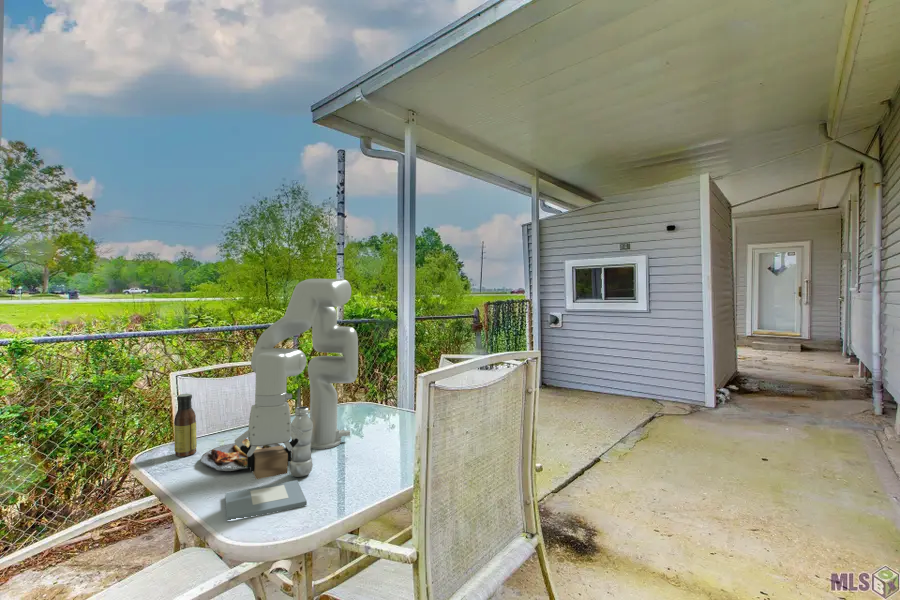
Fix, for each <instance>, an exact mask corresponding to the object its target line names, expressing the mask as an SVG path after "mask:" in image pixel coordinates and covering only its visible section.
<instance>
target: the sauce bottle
mask: <svg viewBox="0 0 900 600" xmlns="http://www.w3.org/2000/svg"><path fill="white" fill-rule="evenodd" d="M192 399H193V395H192V393H182V394H178V395H177V401H178V402H177V405H178V406H177V411H176V414H175V416H174V421H173V425H174V426H173V430H174V432H173V433H174V452H175V456H176V457H182V458H184V457H188V456H192V455H194V454H195V453H196V452H197V441H198V440H197V421H196V420H197V418H196V412H195V411H194V408H193V405H192Z"/></svg>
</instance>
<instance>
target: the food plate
mask: <svg viewBox="0 0 900 600" xmlns="http://www.w3.org/2000/svg"><path fill="white" fill-rule="evenodd" d="M242 443H243V444H244V445H245V446H247V447H249V445H250V442H249V440H248V438H246V439H245V440H244V441H243V442H242ZM275 446H283V448H284V449H285V448H286V446H285V445H283V444H281V443H279V444H272V445H264V446H257V448H256V449H262V448H269V447H275ZM256 449H255V450H256ZM199 461H200V462H201V463H203V464H204V465H206V466H207V467H210V468H211V469H214V470H216V471H222V472H223V471H225V472H231V471H232V472H233V471H239V470H243V469H248V468H247V455H246V454H245V453H244V452H242V451H241V450H240V448H239V447H238V446H237V445H236V444H235V442H234V443H229V444H223V445H221V446H217V447H215V448H212V449H210V450H208V451H206V452H204V453H202V455H201V457H200V460H199Z"/></svg>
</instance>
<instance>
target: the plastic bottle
mask: <svg viewBox="0 0 900 600" xmlns="http://www.w3.org/2000/svg"><path fill="white" fill-rule="evenodd" d="M309 415H310V411H309V406H304V405H303V406H297V407H295V412H294V416H295V417H294V418H293V420H292V421H291V425H292V426H294V427H295V428H297V429H299V430H301V431H302V432H303V436H302V437H301V438H300V440H299V441H298V443H297V444H296V445H295V446H294V447H293V449H292V450H291V461H290V462H289V466H288V467H289V468H288V469H289V473H290V475H291V476H292V477H295V478H300V477H301V478H302V477H307V476H308V475H310V474H311V472H312V470H313V465H314V464H313V459H312V450H311V449H312V448H311V435H312V428H313V423H312V421H311V419H310V416H309ZM295 436H296V434H295V433H293V432H291V439H290V440H292V439H293V438H295Z"/></svg>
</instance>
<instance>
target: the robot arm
mask: <svg viewBox="0 0 900 600" xmlns="http://www.w3.org/2000/svg"><path fill="white" fill-rule="evenodd" d="M351 297H352V286H351V283H350V282H349V280H346V279H341V278H308V279H305V280H302V281H299V282H298V283H297V284H296V285H295V287H294V289H293V292H292V295H291V297H290V300H289V302H288V305H287V308H286V311H285V313H284V315H283V317H281V318H280V319H278V320H276V321H275V322H274V323H273V324H271V325H270V326H269V327H268V328H266V329H265V330H264V331H263V332H262V333H261V335H260V336H259V338H258V339H257V342H256V345H255V347H254V349H253V352H252V355H251V359H250V360H251V361H250V366H251V369H252V372H254V374H255V386H254V387H255V390H254V404H253V405H251V408H250V413H249V418H248V429H247V430H246V431H244V433H242V434H240V436H238V437H236V438H235V439H234V443H235V444H236V445H237V446H238V447H239V448H240V450H241V451H242V452H244V453H245V454H246V455H247V468H246V469H249V470H250V473H253V471H254V454H253V452H254V451H255V449H256V448H257V446H264V445H272V444H283V446H284V447H285V451H286V452H287V454H288V467H290V461H291V454H292V449H293V447H294V446H295V445H296V444H297V443H298V441H299V440H300V438H301V437H302V436H303V432H302V431H301V430H299V429H297V428H295V427H294V426H292V425H291V423H292V421H291V419H292V418H291V410H290V404H289V402H288V401H289V400H291V399H293V394H292V393H288V392H287V378H288V377H295V376H298V375H300V374H302V373H303V371H304V370H305V368H306V366H307V374H308V380H309V389H310V390H309V392H310V393H309V394H310V395H309V396H310V399H309V401H310V402H309V418H310V419H311V421H312V423H313V428H312V435H311V449H313V450H323V449H325V448H326V449H330V448H335V447H337V446H339V445H340V444H341V443H342V437H350V436H351V431H350V429H349V430H345V429H340V430H339V429H338V402H339V401H338V391H337V390H336V388H335V386H334V384H352V383H355V382H356V380H357V378H358V374H359V373H358V371H359V338H358V337H359V336H358V332H357V331H356V329H355V328H353V327H352V326H339V325H338V315H337V314H338V313H337V309H336V308H338V307H341V306H343V305H346V304H347V303H348V302H349V300H350V299H351ZM310 329H311V331H312V333H311V335H312V336H311V337H312V339H311V340H312V347H313V349H314V350H315V351H316V352H317V353H327V354H328V353H331V354H342V355H343V356H342V355H339V356H338V355H336V356H335V355H318V356H314V357H313V358H311V359H310V360H309V362H308V365H307V357H306V353H304V352H303V350H301V349H297V348H283V347H282V348H278V347H277V348H276V346H277V345H278V344H279V343H281V342H282V341H284V340H287V339H289V338H292V337H295V336H297V335H300V334H302V333H306V332H307V331H309V330H310ZM291 432H293V433H295V434H296V436H295V438H293V439H291ZM245 439H248V440H249V442H250V445H249V447H247V446H245V445H244V444H243V443H242V442H243V441H244V440H245Z"/></svg>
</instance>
